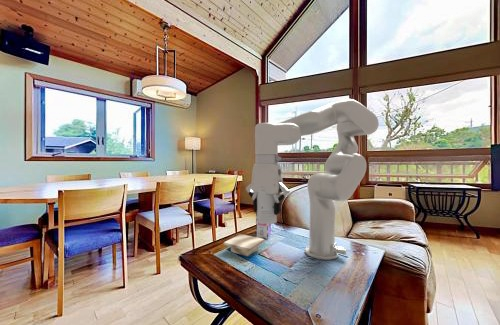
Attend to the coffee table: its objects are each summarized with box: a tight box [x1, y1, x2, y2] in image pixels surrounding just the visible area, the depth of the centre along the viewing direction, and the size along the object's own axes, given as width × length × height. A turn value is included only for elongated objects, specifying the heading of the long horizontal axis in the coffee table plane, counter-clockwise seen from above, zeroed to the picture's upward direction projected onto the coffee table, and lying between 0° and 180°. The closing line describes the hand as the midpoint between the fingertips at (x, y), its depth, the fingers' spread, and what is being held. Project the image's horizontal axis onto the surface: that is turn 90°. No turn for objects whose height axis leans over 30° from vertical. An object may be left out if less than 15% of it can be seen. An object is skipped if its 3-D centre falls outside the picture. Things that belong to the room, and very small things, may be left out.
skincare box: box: [257, 187, 278, 224], centre depth 81 cm, size 6×4×12 cm
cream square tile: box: [223, 233, 266, 257], centre depth 97 cm, size 12×12×4 cm
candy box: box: [255, 212, 272, 240], centre depth 117 cm, size 14×6×16 cm, turn 168°
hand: (266, 212), depth 81 cm, fingers closed on skincare box, 7 cm apart
